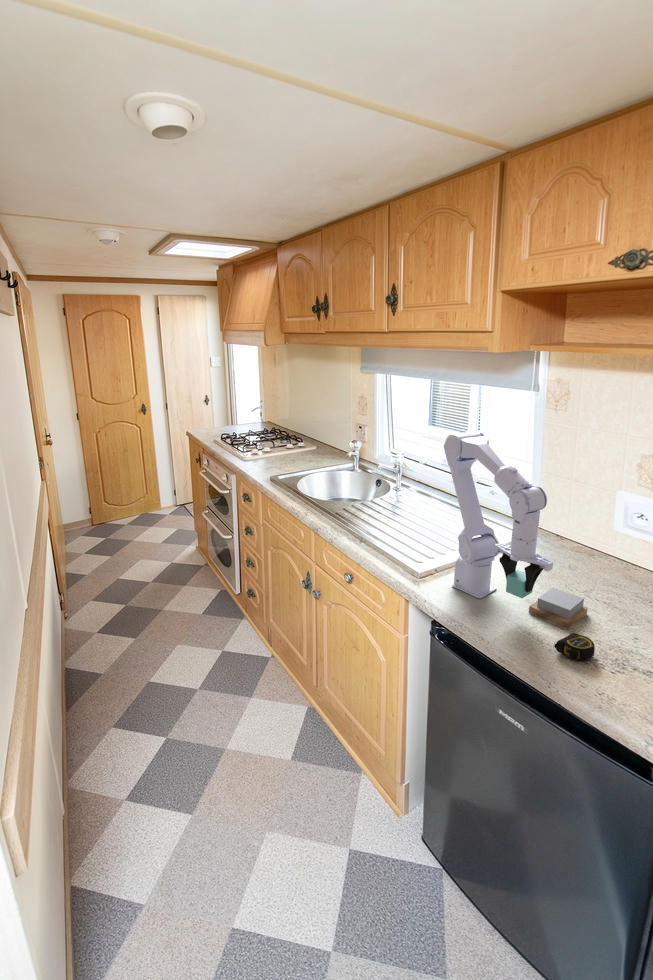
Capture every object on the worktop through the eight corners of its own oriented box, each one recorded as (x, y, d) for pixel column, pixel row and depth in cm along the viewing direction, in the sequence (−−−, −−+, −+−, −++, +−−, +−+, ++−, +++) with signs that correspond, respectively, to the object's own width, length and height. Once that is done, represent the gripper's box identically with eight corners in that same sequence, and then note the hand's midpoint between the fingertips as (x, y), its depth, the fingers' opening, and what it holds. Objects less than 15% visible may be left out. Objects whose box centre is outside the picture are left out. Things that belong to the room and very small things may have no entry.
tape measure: (571, 642, 121) (573, 628, 120) (599, 657, 115) (602, 643, 114) (552, 652, 117) (554, 638, 116) (580, 668, 112) (583, 653, 111)
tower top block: (537, 606, 132) (538, 598, 131) (551, 595, 137) (552, 587, 136) (568, 619, 126) (569, 610, 126) (582, 607, 131) (584, 598, 131)
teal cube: (505, 591, 130) (507, 575, 128) (516, 585, 132) (517, 569, 131) (522, 598, 126) (523, 582, 125) (532, 592, 129) (534, 576, 127)
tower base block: (528, 614, 133) (529, 606, 132) (549, 601, 139) (550, 593, 138) (566, 631, 126) (567, 622, 125) (586, 616, 132) (587, 608, 131)
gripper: (488, 531, 128) (484, 581, 132) (543, 550, 117) (537, 603, 121) (505, 524, 132) (501, 572, 136) (560, 541, 121) (553, 593, 125)
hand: (519, 586), depth 129 cm, fingers closed on teal cube, 4 cm apart
